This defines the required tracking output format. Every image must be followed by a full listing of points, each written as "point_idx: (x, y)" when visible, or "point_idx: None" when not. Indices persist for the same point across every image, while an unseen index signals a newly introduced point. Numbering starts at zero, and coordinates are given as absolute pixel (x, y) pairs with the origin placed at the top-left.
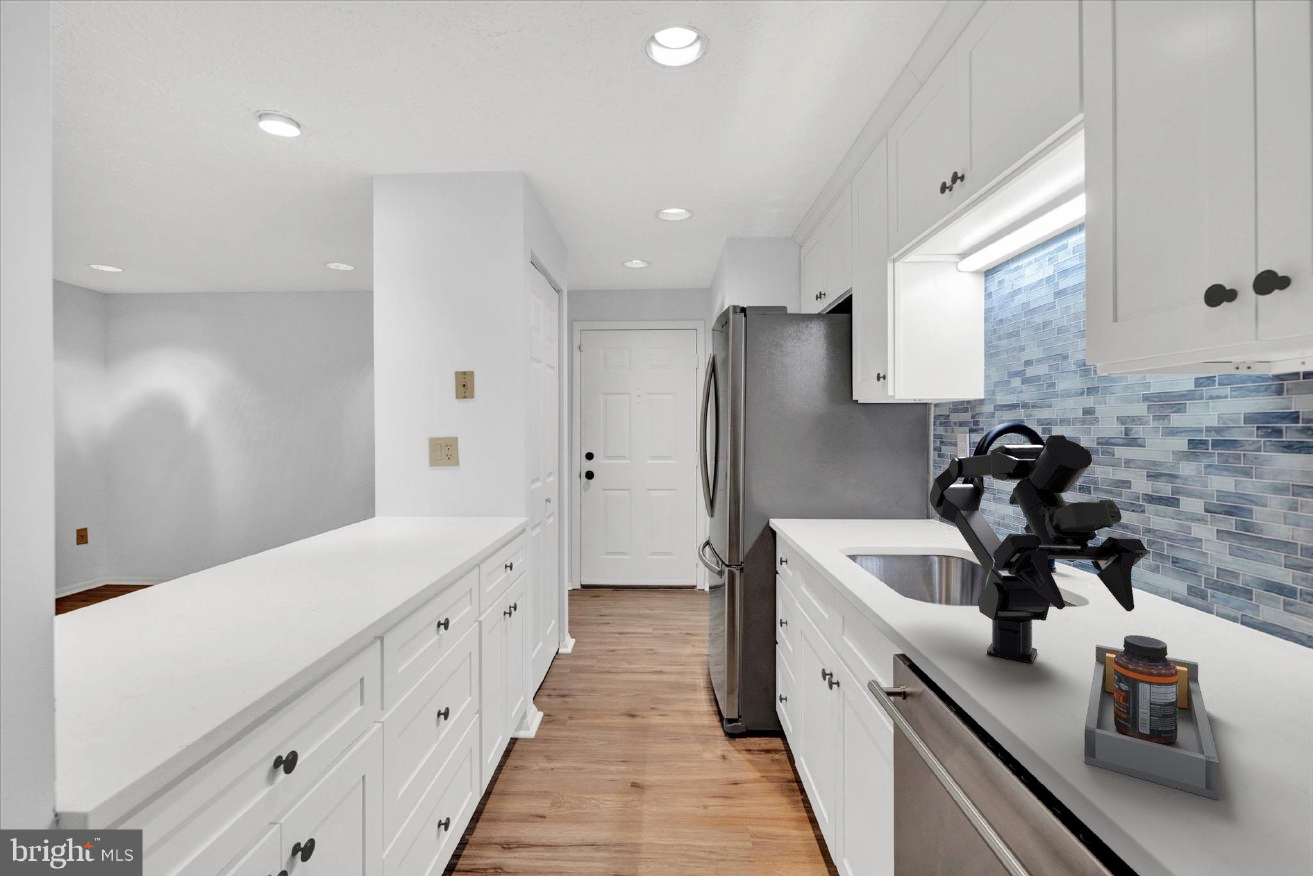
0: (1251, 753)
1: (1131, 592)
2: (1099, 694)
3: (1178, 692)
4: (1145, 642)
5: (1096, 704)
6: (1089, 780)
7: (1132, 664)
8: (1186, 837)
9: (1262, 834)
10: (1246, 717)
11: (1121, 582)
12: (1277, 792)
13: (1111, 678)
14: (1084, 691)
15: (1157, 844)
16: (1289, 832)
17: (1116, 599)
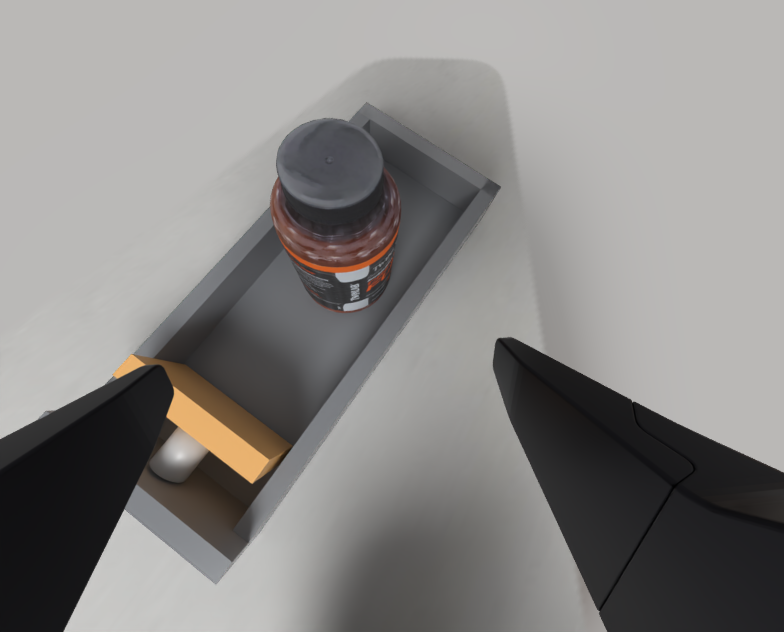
0: (207, 245)
1: (59, 412)
2: (388, 318)
3: (179, 370)
4: (340, 147)
5: (424, 273)
6: (498, 180)
7: (388, 175)
8: (456, 90)
9: (371, 93)
10: (72, 370)
11: (20, 483)
12: (274, 157)
13: (276, 443)
14: (316, 485)
15: (493, 82)
16: (338, 95)
17: (138, 478)
